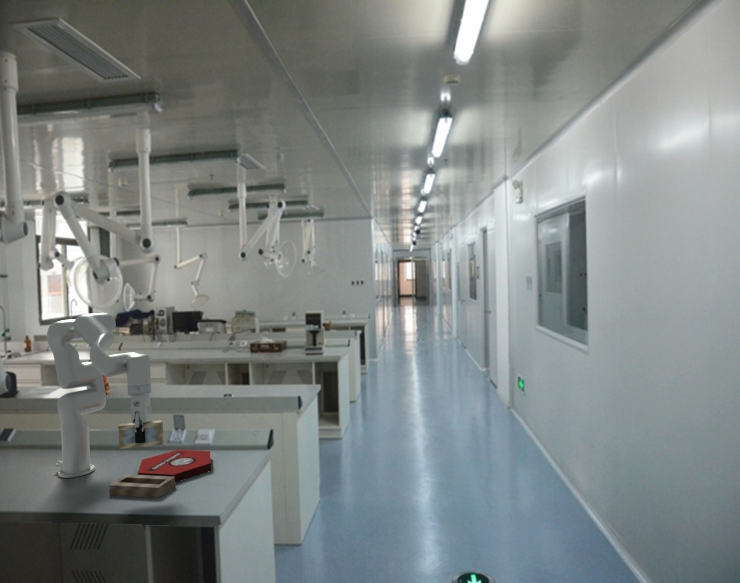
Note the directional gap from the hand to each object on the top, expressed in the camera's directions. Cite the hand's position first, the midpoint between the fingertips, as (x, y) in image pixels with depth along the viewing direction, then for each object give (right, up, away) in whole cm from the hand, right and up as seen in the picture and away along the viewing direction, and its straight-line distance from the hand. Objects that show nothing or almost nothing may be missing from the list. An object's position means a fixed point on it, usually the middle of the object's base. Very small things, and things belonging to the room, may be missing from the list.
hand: (141, 440), depth 182 cm
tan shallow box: (0, -18, 0) cm, 18 cm away
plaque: (+4, -18, +21) cm, 28 cm away
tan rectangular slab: (0, -2, 0) cm, 2 cm away
